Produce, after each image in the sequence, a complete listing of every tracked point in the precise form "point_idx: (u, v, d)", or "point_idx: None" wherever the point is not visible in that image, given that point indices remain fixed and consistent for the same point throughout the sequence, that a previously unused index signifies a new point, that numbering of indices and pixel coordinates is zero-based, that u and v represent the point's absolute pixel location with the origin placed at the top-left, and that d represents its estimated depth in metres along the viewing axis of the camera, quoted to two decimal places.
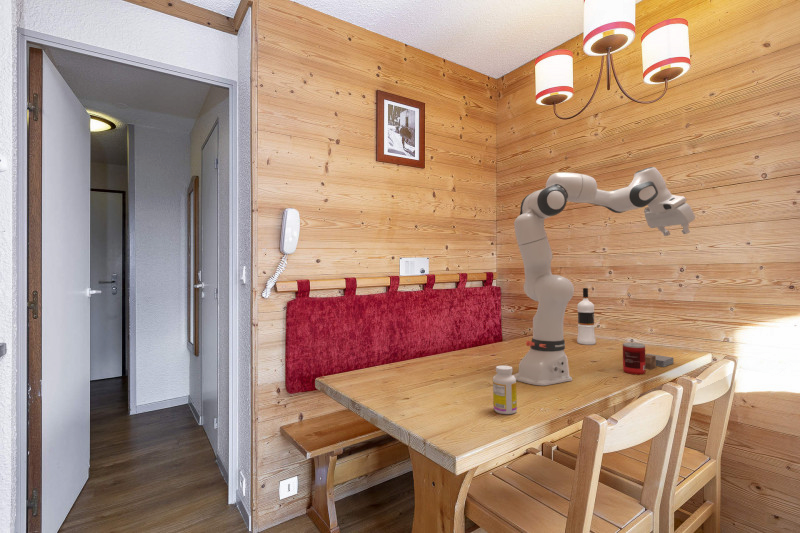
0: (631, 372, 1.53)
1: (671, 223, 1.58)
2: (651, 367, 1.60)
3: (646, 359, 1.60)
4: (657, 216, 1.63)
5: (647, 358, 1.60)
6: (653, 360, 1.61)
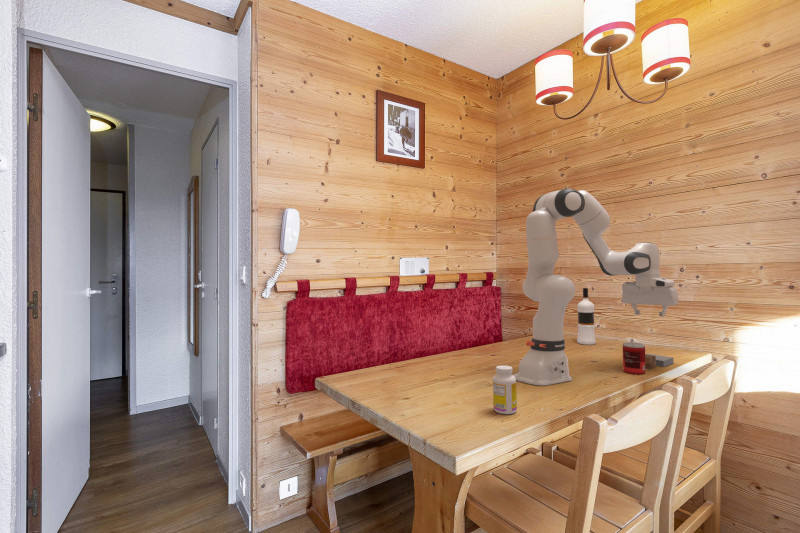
0: (631, 372, 1.53)
1: (652, 302, 1.60)
2: (651, 367, 1.60)
3: (646, 359, 1.60)
4: (638, 292, 1.64)
5: (647, 358, 1.60)
6: (653, 360, 1.61)
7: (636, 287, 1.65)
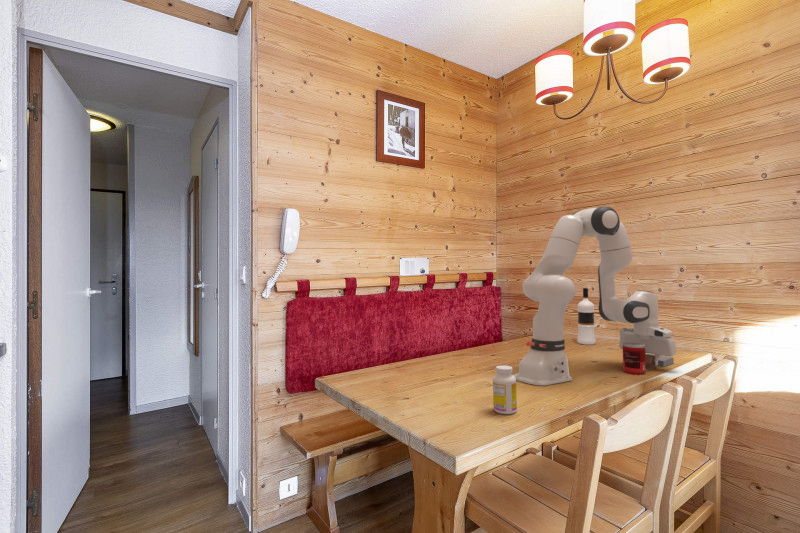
0: (631, 372, 1.53)
1: (650, 351, 1.60)
2: (651, 367, 1.60)
3: (646, 359, 1.60)
4: (636, 339, 1.64)
5: (647, 358, 1.60)
6: None
7: (634, 334, 1.65)
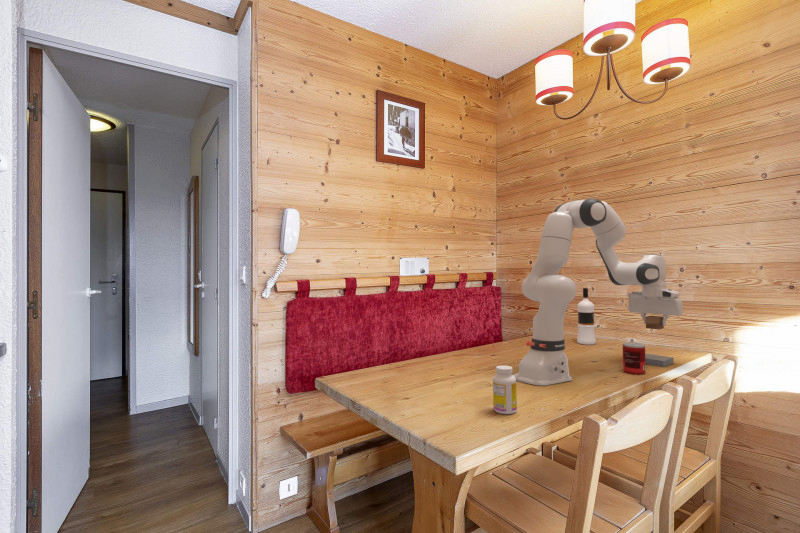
0: (631, 372, 1.53)
1: (658, 311, 1.67)
2: (659, 327, 1.67)
3: (654, 319, 1.68)
4: (644, 302, 1.72)
5: (655, 318, 1.67)
6: (661, 320, 1.68)
7: (642, 297, 1.72)
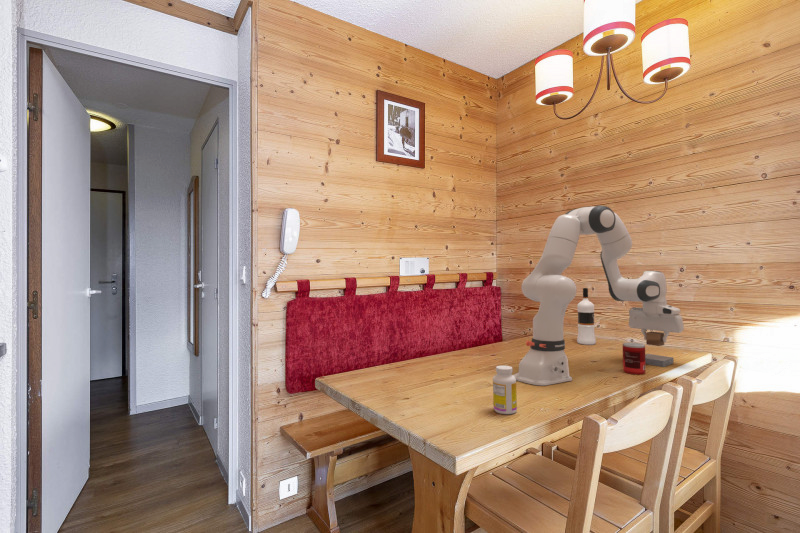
0: (631, 372, 1.53)
1: (658, 328, 1.67)
2: (660, 343, 1.67)
3: (655, 336, 1.68)
4: (645, 318, 1.72)
5: (656, 335, 1.67)
6: None
7: (643, 313, 1.72)
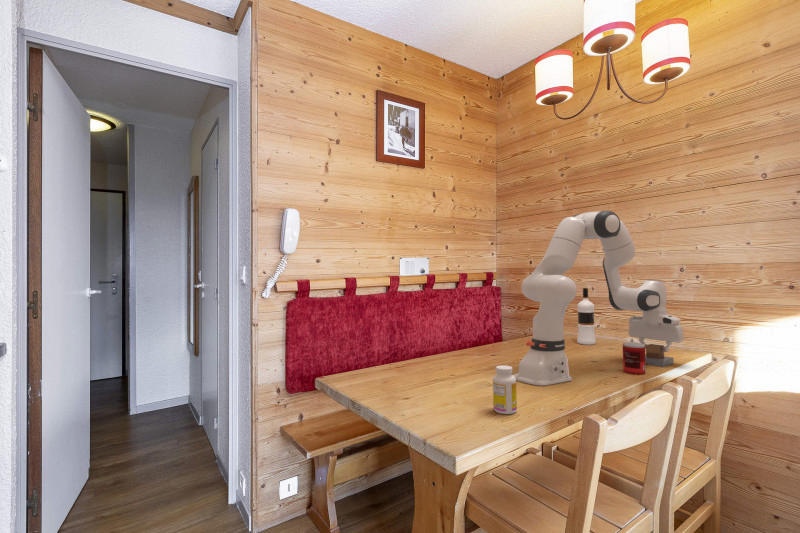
0: (631, 372, 1.53)
1: (658, 337, 1.67)
2: (660, 356, 1.67)
3: (655, 348, 1.68)
4: (645, 327, 1.72)
5: (656, 347, 1.67)
6: (661, 350, 1.68)
7: (643, 322, 1.72)
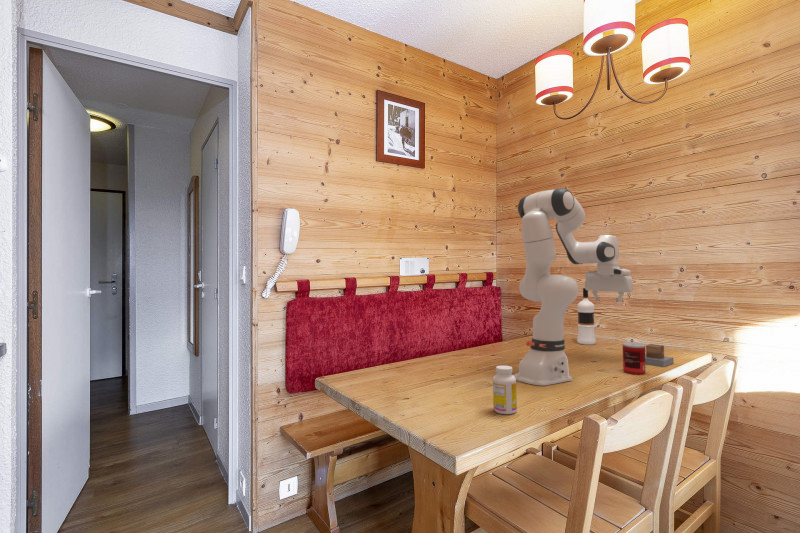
0: (631, 372, 1.53)
1: (610, 289, 1.76)
2: (660, 356, 1.67)
3: (655, 348, 1.68)
4: (599, 280, 1.80)
5: (656, 347, 1.67)
6: (661, 350, 1.68)
7: (597, 275, 1.81)
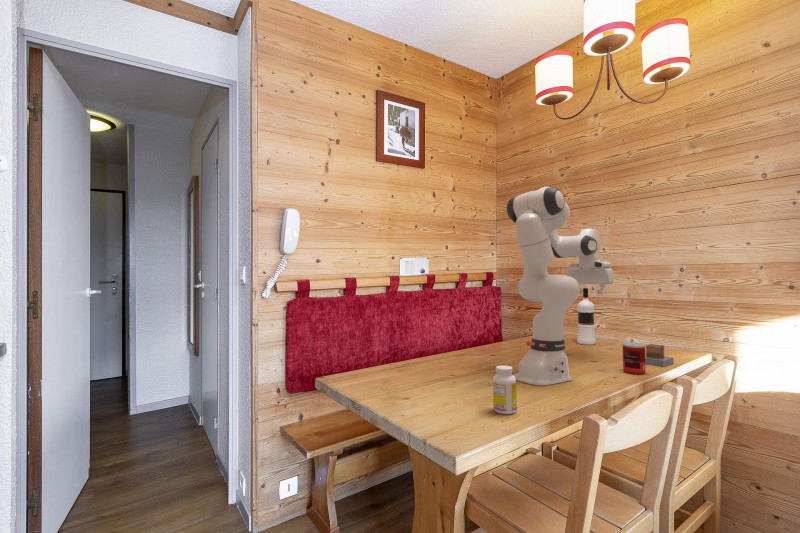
0: (631, 372, 1.53)
1: (592, 281, 1.80)
2: (660, 356, 1.67)
3: (655, 348, 1.68)
4: (581, 273, 1.84)
5: (656, 347, 1.67)
6: (661, 350, 1.68)
7: (579, 268, 1.85)
